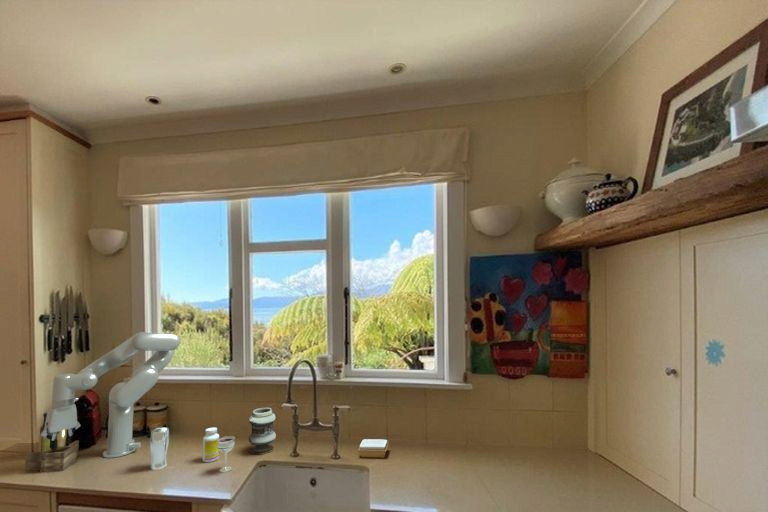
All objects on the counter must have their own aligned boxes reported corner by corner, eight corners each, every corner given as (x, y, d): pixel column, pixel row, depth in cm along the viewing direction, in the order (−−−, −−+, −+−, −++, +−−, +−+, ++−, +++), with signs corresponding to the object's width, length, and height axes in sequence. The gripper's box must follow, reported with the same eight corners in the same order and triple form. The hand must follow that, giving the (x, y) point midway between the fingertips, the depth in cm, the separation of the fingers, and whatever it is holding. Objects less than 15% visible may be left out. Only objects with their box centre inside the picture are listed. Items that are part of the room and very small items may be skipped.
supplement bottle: (221, 459, 168) (222, 428, 169) (206, 464, 163) (206, 432, 165) (215, 455, 172) (215, 425, 174) (199, 459, 168) (200, 429, 169)
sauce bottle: (60, 454, 178) (63, 410, 180) (47, 459, 171) (50, 414, 174) (47, 454, 178) (50, 410, 180) (33, 459, 172) (37, 414, 174)
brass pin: (67, 455, 166) (69, 426, 167) (61, 459, 162) (63, 429, 163) (57, 456, 165) (59, 427, 167) (50, 459, 161) (52, 430, 163)
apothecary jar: (243, 455, 172) (244, 413, 174) (255, 444, 184) (256, 406, 186) (269, 455, 170) (269, 413, 172) (279, 445, 182) (280, 406, 184)
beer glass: (148, 471, 157) (149, 433, 159) (149, 465, 163) (151, 428, 165) (167, 468, 160) (169, 430, 162) (168, 462, 166) (169, 426, 168)
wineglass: (230, 473, 154) (230, 441, 155) (213, 473, 154) (214, 442, 156) (237, 465, 161) (237, 435, 162) (221, 465, 161) (221, 436, 162)
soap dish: (389, 450, 174) (388, 438, 174) (386, 459, 164) (386, 447, 165) (362, 449, 175) (362, 438, 176) (358, 458, 166) (357, 446, 166)
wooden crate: (86, 455, 176) (87, 438, 177) (63, 470, 160) (64, 452, 161) (46, 458, 173) (47, 441, 174) (18, 474, 157) (19, 456, 158)
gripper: (81, 397, 175) (78, 439, 173) (34, 407, 161) (31, 452, 159) (89, 399, 172) (86, 442, 170) (42, 409, 157) (38, 456, 155)
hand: (59, 446), depth 164 cm, fingers closed on brass pin, 4 cm apart
